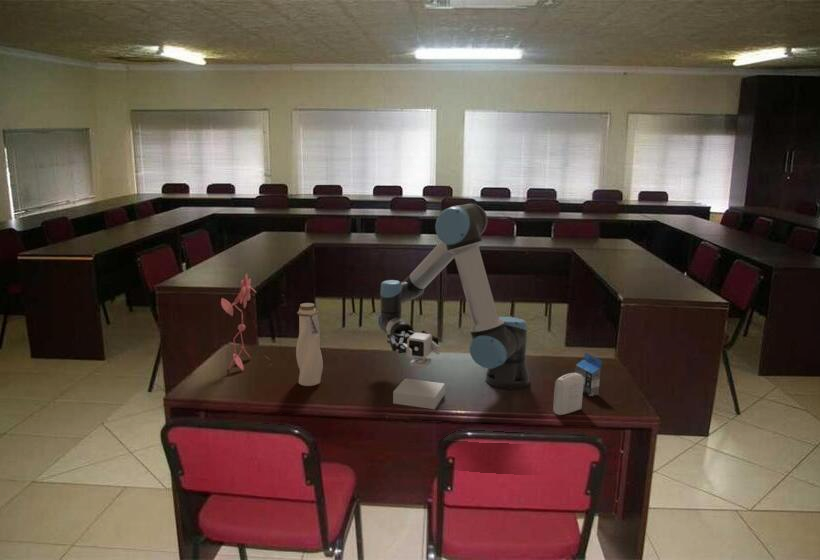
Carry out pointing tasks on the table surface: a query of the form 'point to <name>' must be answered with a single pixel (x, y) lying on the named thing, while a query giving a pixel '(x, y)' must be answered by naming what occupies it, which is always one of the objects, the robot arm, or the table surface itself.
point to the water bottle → (309, 346)
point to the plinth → (419, 393)
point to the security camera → (420, 349)
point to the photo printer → (568, 393)
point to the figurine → (228, 308)
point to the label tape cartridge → (589, 374)
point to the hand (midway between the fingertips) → (424, 352)
